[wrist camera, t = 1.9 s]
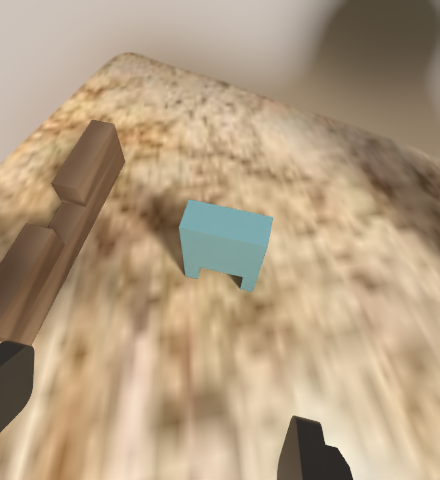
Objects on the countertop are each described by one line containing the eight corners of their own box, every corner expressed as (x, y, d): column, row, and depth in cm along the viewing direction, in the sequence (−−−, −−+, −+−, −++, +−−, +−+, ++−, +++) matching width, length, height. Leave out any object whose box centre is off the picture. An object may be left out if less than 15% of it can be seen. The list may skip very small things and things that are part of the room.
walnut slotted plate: (125, 161, 35) (114, 124, 31) (29, 349, 26) (-7, 332, 21) (105, 157, 36) (92, 119, 31) (3, 342, 26) (-39, 324, 21)
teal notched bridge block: (257, 267, 30) (273, 217, 23) (252, 291, 29) (267, 246, 22) (192, 252, 30) (188, 199, 23) (185, 276, 29) (178, 227, 22)
